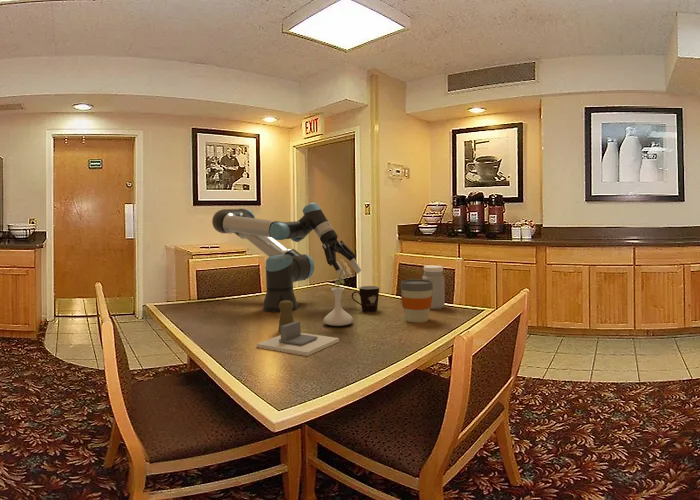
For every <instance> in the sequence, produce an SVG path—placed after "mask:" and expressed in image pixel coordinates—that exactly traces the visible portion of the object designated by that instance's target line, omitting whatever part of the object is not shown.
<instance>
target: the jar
mask: <svg viewBox="0 0 700 500" xmlns="http://www.w3.org/2000/svg"><path fill="white" fill-rule="evenodd" d="M423 271H424V272H423V275H422V278H421V280H430V281H432V285H433V289H432V294H431V295H432V303H431V308H430V310H441V309H444V307H445V305H446V304H445V303H446V302H445V301H446V299H445V298H446V297H445V292H446V289H445V287H446V286H445V285H446V284H445V283H446V280H445V276H444V272H443V271H444V266H443V265H437V264H436V265H432V264H430V265H424V266H423Z"/></svg>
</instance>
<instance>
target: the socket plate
mask: <svg viewBox="0 0 700 500" xmlns="http://www.w3.org/2000/svg"><path fill="white" fill-rule="evenodd" d="M301 334H302V335H309V336H316V337H318V339H315V340H313V341H310V342H308V343H305V344H303V345H297V344H290V343H284V342H279V340H280V339H281V334H279V335H277V336H275V337H272V338H269V339H266V340H263V341H260V342H257V343H256V344H255V345H256V346H255V347H256V348H257V347H259V348H258V349H262V348H264V349H263V350H268V349H270V350H269V351H274V350H276V351H275V352H280V351H281V353H285V354H287V353H288V354H293V355H299V356H304V357H309V356H312V355H313V354H316V353H317V352H319V351H322V350H324V349H326V348H328V347H331V346H333V345H335V344H337V343H339V342H340V337H333V336H326V335H320V334H312V333H305V332H301Z"/></svg>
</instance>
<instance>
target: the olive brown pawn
mask: <svg viewBox="0 0 700 500" xmlns="http://www.w3.org/2000/svg"><path fill="white" fill-rule="evenodd" d="M292 308H293V303H292V301H289V300H284V301H281V302H280V303H279V309H280V312H279V322H278V323H279V324H278V333H281V326H283V325H286V324H289V323H292V322H295V321H294V314H293V310H292Z"/></svg>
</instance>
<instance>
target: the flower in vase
mask: <svg viewBox="0 0 700 500" xmlns="http://www.w3.org/2000/svg"><path fill="white" fill-rule="evenodd" d="M339 261H340V262H339V263H340V266H341V267H342V271H343V270H344V272H345V274H346V275H347V276H348V277H349V278H351V277H352V276H353V273H352V272H351V268H350V267H349V266H348V263H347V262H345V259H344V258H340V260H339ZM342 271H341V274H342ZM341 274H340V276H341ZM340 276H339V275H338V279H336V280H335V282H334V285H335V286H337V287H332V288H331V289H330V290H331V292H332V294H333V297H334V307H333V310H331V311H330V312H329V313H328V314H327V315H326V316H324V318H323V322H324V324H326V325H328V326H332V327H340V326H341V327H342V326H347V325H350V324H352V323H353V322H354V318H353V317H352V316H351V314H349V313H348V312H347V311H345V310H344V309H343V307H342V295H343V292H344V290H345V288H344V287H340V284H341V285H344V284H345V281H344V279H343V277H342V278H340Z"/></svg>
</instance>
